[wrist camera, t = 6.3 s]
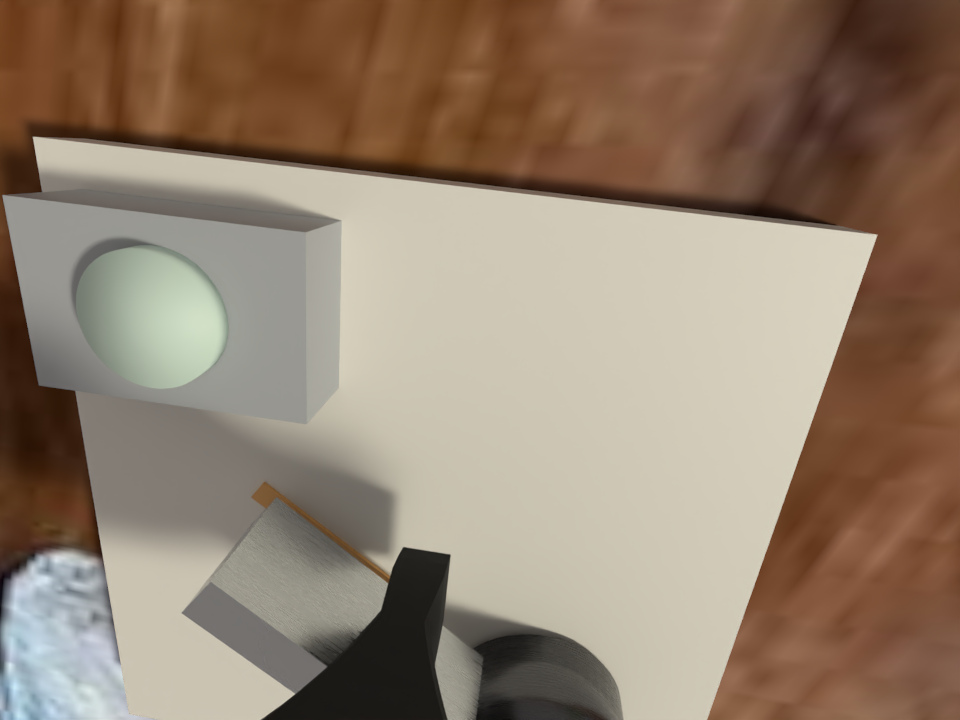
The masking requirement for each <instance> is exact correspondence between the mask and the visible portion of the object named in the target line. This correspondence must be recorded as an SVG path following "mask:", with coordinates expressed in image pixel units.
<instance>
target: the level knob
mask: <svg viewBox="0 0 960 720" xmlns="http://www.w3.org/2000/svg"><path fill="white" fill-rule="evenodd" d="M387 586H388V583H387V582H386V581H384V580H383V579H382V578H381V577H379V576H378V575H377V574H375V573H374V572H373V571H372V570H370V569H369V568H368V567H366V566H365V565H364V564H363V563H361V562H360V561H359V560H357V559H356V558H355V557H353V556H352V555H351V554H350V553H348V552H347V551H346V550H344V549H343V548H342V547H341V546H339V545H338V544H337V543H335V542H334V541H333V540H332V539H330V538H329V537H328V536H326V535H325V534H324V533H322V532H321V531H320V530H319V529H317V528H316V527H315V526H313V525H312V524H311V523H310V522H308V521H307V520H306V519H304V518H303V517H302V516H301V515H299V514H298V513H297V512H295V511H294V510H293V509H291V508H290V507H289V506H288V505H286V504H285V503H284V502H282V501H281V500H280V499H279V498H277V497H276V498H275V499H274V500H273V501H272V502H271V503H270V505H269V506H268V507H267V508H266V509H265V510H264V511H263V512H262V513H261V514H260V515H259V516H258V518H257V519H256V520H255V521H254V522H253V523H252V524H251V525H250V527H249V528H248V529H247V530H246V532H245V533H244V534H243V535H242V537H241V538H240V539H239V540H238V542H237V543H236V544H235V546H234V547H233V548H232V549H231V551H230V552H229V553H228V554H227V556H226V557H225V558H224V560H223V561H222V562H221V563H220V565H219V566H218V567H217V568H216V570H215V571H214V572H213V573H212V575H211V576H210V577H209V579H208V580H207V581H206V582H205V584H204V585H203V586H202V587H201V589H200V590H199V591H198V592H197V594H196V595H195V596H194V598H193V599H192V600H191V601H190V603H189V604H188V605H187V606H186V608H185V609H184V610H183V612H182V614H183V615H185V616H186V617H188V618H189V619H190V620H192V621H193V622H195V623H196V624H197V625H199V626H200V627H202V628H203V629H204V630H206V631H207V632H209V633H210V634H212V635H213V636H214V637H216V638H217V639H219V640H220V641H221V642H223V643H224V644H226V645H227V646H228V647H230V648H231V649H233V650H234V651H235V652H237V653H238V654H240V655H241V656H243V657H244V658H245V659H247V660H248V661H250V662H251V663H252V664H254V665H255V666H257V667H258V668H259V669H261V670H262V671H264V672H265V673H267V674H268V675H269V676H271V677H272V678H274V679H275V680H276V681H278V682H279V683H281V684H282V685H283V686H285V687H286V688H288V689H289V690H290V691H292V692H293V693H295V694H296V693H297V692H298V691H300V690H301V689H302V688H303V687H304V686H305V685H307V684H308V683H309V682H310V681H311V680H312V679H314V678H315V677H316V676H317V675H318V674H319V673H321V672H322V671H323V670H324V669H325V668H326V667H327V666H328V665H329V664H330V663H332V662H333V661H334V660H335V659H336V658H337V657H338V656H339V655H340V654H341V653H342V652H343V651H344V650H345V649H346V648H347V647H348V646H349V645H350V644H351V643H352V642H353V641H354V640H355V639H356V638H357V637H358V636H359V634H360V633H361V632H362V631H363V630H364V629H365V628H366V627H367V625H368V624H369V623H370V622H371V621H372V620H373V619H374V618H375V617H376V615H377V614H378V613H379V612H380V611H381V608H382V605H383V601H384V597H385V594H386V590H387ZM435 668H436V674H437V678H438V683H439V687H440V692H441V696H442V700H443V704H444V708H445V712H446V716H447V719H448V720H624V719H623V712H622V705H621V698H620V693H619V689H618V687H617V684H616V682H615V680H614V678H613V676H612V675H611V673H610V672H609V671H608V669H607V668H606V667H605V666H604V665H603V664H602V663H601V662H600V661H599V660H598V659H597V658H596V657H594V656H593V655H592V654H590V653H589V652H587V651H586V650H584V649H582V648H580V647H578V646H577V645H574V644H572V643H569V642H567V641H564V640H561V639H557V638H554V637H549V636H544V635H533V634H518V635H509V636H504V637H499V638H496V639H493V640H490V641H487V642H485V643H483V644H481V645H479V646H477V647H475V648H474V649H472V648H471V647H470V646H468V645H467V644H466V643H465V642H463V641H462V640H461V639H459V638H458V637H457V636H456V635H454V634H453V633H452V632H450V631H449V630H448V629H446V628H445V627H444V626H442V631H441V636H440V642H439V647H438V652H437V657H436V662H435Z"/></svg>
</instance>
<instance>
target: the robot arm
mask: <svg viewBox="0 0 960 720" xmlns="http://www.w3.org/2000/svg"><path fill="white" fill-rule="evenodd" d="M450 557H451V555H450V554H444V553H438V552H432V551H426V550H420V549H413V548H407V547H403V548H402V550H401V552H400V554H399V555H398V557H397V559H396V562H395V564H394V566H393V568H392V572H391V575H390V579H389V583H388V586H387V590H386V594H385V597H384V601H383V605H382V608H381V611H380V612H379V613H378V614H377V615H376V617H375V618H374V619H373V620H372V621H371V622H370V623H369V624H368V625H367V627H366V628H365V629H364V630H363V631H362V632H361V633H360V634H359V636H358V637H357V638H356V639H355V640H354V641H353V642H352V643H351V644H350V645H349V646H348V647H347V648H346V649H345V650H344V651H343V652H342V653H341V654H340V655H339V656H338V657H337V658H336V659H335V660H334V661H333V662H332V663H330V664H329V665H328V666H327V667H326V668H325V669H324V670H323V671H322V672H321V673H319V674H318V675H317V676H316V677H315V678H314V679H312V680H311V681H310V682H309V683H308V684H307V685H305V686H304V687H303V688H302V689H301V690H300V691H298V692H297V693H296V694H295V695H293V696H292V697H291V698H290V699H288V700H287V701H286V702H284V703H283V704H282V705H280V706H279V707H278V708H276V709H275V710H273V711H272V712H271V713H269V714H268V715H267V716H265V717H264V718H262V719H261V720H448V719H447V716H446V712H445V708H444V704H443V700H442V696H441V692H440V687H439V683H438V678H437V674H436V668H435V662H436V657H437V652H438V647H439V642H440V636H441V631H442V626H443V621H444V612H445V603H446V594H447V584H448V575H449V566H450Z"/></svg>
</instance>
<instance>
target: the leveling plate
mask: <svg viewBox="0 0 960 720" xmlns="http://www.w3.org/2000/svg"><path fill="white" fill-rule="evenodd" d="M33 141H34V147H35V153H36V159H37V165H38V171H39V177H40V183H41V189H42V192H36V193H23V194H9V195H2V196H3V201H4V206H5V211H6V217H7V222H8V227H9V232H10V237H11V243H12V248H13V253H14V258H15V264H16V269H17V274H18V279H19V284H20V290H21V295H22V300H23V305H24V311H25V316H26V321H27V326H28V332H29V337H30V342H31V347H32V352H33V358H34V363H35V368H36V373H37V379H38V384H39V386H46V387H53V388H60V389H67V390H74V391H75V392H76V398H77V404H78V410H79V416H80V422H81V428H82V434H83V440H84V446H85V452H86V458H87V464H88V470H89V476H90V482H91V488H92V494H93V500H94V506H95V512H96V518H97V524H98V530H99V536H100V542H101V548H102V554H103V560H104V566H105V572H106V578H107V584H108V590H109V596H110V602H111V608H112V614H113V620H114V626H115V632H116V638H117V644H118V650H119V656H120V662H121V668H122V674H123V680H124V686H125V692H126V698H127V704H128V710H129V714H131V715H137V716H142V717H148V718H153V719H159V720H261V719H262V718H264V717H265V716H267V715H268V714H269V713H271V712H272V711H273V710H275V709H276V708H278V707H279V706H280V705H282V704H283V703H284V702H286V701H287V700H288V699H290V698H291V697H292V696H293V695H295V693H293V692H292V691H290V690H289V689H288V688H286V687H285V686H283V685H282V684H281V683H279V682H278V681H276V680H275V679H274V678H272V677H271V676H269V675H268V674H267V673H265V672H264V671H262V670H261V669H259V668H258V667H257V666H255V665H254V664H252V663H251V662H250V661H248V660H247V659H245V658H244V657H243V656H241V655H240V654H238V653H237V652H235V651H234V650H233V649H231V648H230V647H228V646H227V645H226V644H224V643H223V642H221V641H220V640H219V639H217V638H216V637H214V636H213V635H212V634H210V633H209V632H207V631H206V630H204V629H203V628H202V627H200V626H199V625H197V624H196V623H195V622H193V621H192V620H190V619H189V618H188V617H186V616H185V615H183V614H182V612H183V610H184V609H185V608H186V606H187V605H188V604H189V603H190V601H191V600H192V599H193V598H194V596H195V595H196V594H197V592H198V591H199V590H200V589H201V587H202V586H203V585H204V584H205V582H206V581H207V580H208V579H209V577H210V576H211V575H212V573H213V572H214V571H215V570H216V568H217V567H218V566H219V565H220V563H221V562H222V561H223V560H224V558H225V557H226V556H227V554H228V553H229V552H230V551H231V549H232V548H233V547H234V546H235V544H236V543H237V542H238V540H239V539H240V538H241V537H242V535H243V534H244V533H245V532H246V530H247V529H248V528H249V527H250V525H251V524H252V523H253V522H254V521H255V520H256V519H257V518H258V516H259V515H260V514H261V513H262V512H263V511H264V510H265V509H266V508H267V507H268V506H269V505H270V503H271V502H272V501H273V500H274V499H275V498H276V497H277V498H279V499H280V500H281V501H282V502H284V503H285V504H286V505H288V506H289V507H290V508H291V509H293V510H294V511H295V512H297V513H298V514H299V515H301V516H302V517H303V518H304V519H306V520H307V521H308V522H310V523H311V524H312V525H313V526H315V527H316V528H317V529H319V530H320V531H321V532H322V533H324V534H325V535H326V536H328V537H329V538H330V539H332V540H333V541H334V542H335V543H337V544H338V545H339V546H341V547H342V548H343V549H344V550H346V551H347V552H348V553H350V554H351V555H352V556H353V557H355V558H356V559H357V560H359V561H360V562H361V563H363V564H364V565H365V566H366V567H368V568H369V569H370V570H372V571H373V572H374V573H375V574H377V575H378V576H379V577H381V578H382V579H383V580H384V581H386V582H387V583H389V579H390V575H391V572H392V568H393V566H394V564H395V562H396V559H397V557H398V555H399V554H400V552H401V550H402V548H403V547H407V548H413V549H420V550H426V551H432V552H438V553H444V554H450V555H451V557H450V566H449V575H448V584H447V594H446V603H445V612H444V621H443V626H444V627H445V628H446V629H448V630H449V631H450V632H452V633H453V634H454V635H456V636H457V637H458V638H459V639H461V640H462V641H463V642H465V643H466V644H467V645H468V646H470V647H471V648H472V649H474V648H475V647H477V646H479V645H481V644H483V643H485V642H487V641H490V640H493V639H496V638H499V637H504V636H509V635H518V634H533V635H544V636H549V637H554V638H557V639H561V640H564V641H567V642H569V643H572V644H574V645H577V646H578V647H580V648H582V649H584V650H586V651H587V652H589V653H590V654H592V655H593V656H594V657H596V658H597V659H598V660H599V661H600V662H601V663H602V664H603V665H604V666H605V667H606V668H607V669H608V671H609V672H610V673H611V675H612V676H613V678H614V680H615V682H616V684H617V687H618V689H619V693H620V698H621V705H622V712H623V719H624V720H707V718H708V715H709V712H710V709H711V707H712V704H713V701H714V698H715V695H716V692H717V690H718V687H719V684H720V681H721V678H722V675H723V672H724V670H725V667H726V664H727V661H728V658H729V655H730V653H731V650H732V647H733V644H734V641H735V638H736V636H737V633H738V630H739V627H740V624H741V621H742V618H743V616H744V613H745V610H746V607H747V604H748V601H749V599H750V596H751V593H752V590H753V587H754V584H755V581H756V579H757V576H758V573H759V570H760V567H761V564H762V562H763V559H764V556H765V553H766V550H767V547H768V545H769V542H770V539H771V536H772V533H773V530H774V527H775V525H776V522H777V519H778V516H779V513H780V510H781V508H782V505H783V502H784V499H785V496H786V493H787V491H788V488H789V485H790V482H791V479H792V476H793V473H794V471H795V468H796V465H797V462H798V459H799V456H800V454H801V451H802V448H803V445H804V442H805V439H806V437H807V434H808V431H809V428H810V425H811V422H812V419H813V417H814V414H815V411H816V408H817V405H818V402H819V400H820V397H821V394H822V391H823V388H824V385H825V383H826V380H827V377H828V374H829V371H830V368H831V365H832V363H833V360H834V357H835V354H836V351H837V348H838V346H839V343H840V340H841V337H842V334H843V331H844V329H845V326H846V323H847V320H848V317H849V314H850V311H851V309H852V306H853V303H854V300H855V297H856V294H857V292H858V289H859V286H860V283H861V280H862V277H863V275H864V272H865V269H866V266H867V263H868V260H869V257H870V255H871V252H872V249H873V246H874V243H875V240H876V238H877V235H876V234H872V233H867V232H863V231H859V230H855V229H851V228H847V227H842V226H836V225H827V224H819V223H810V222H801V221H793V220H784V219H776V218H767V217H758V216H750V215H741V214H732V213H724V212H715V211H706V210H698V209H689V208H681V207H672V206H663V205H655V204H646V203H637V202H629V201H620V200H611V199H603V198H594V197H586V196H577V195H568V194H560V193H551V192H542V191H534V190H525V189H516V188H508V187H499V186H491V185H482V184H473V183H465V182H456V181H447V180H439V179H430V178H421V177H413V176H404V175H396V174H387V173H378V172H370V171H361V170H352V169H344V168H335V167H326V166H318V165H309V164H301V163H292V162H283V161H275V160H266V159H257V158H249V157H240V156H231V155H223V154H214V153H206V152H197V151H188V150H180V149H171V148H162V147H154V146H145V145H136V144H128V143H119V142H111V141H102V140H93V139H84V138H56V137H33Z"/></svg>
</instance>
